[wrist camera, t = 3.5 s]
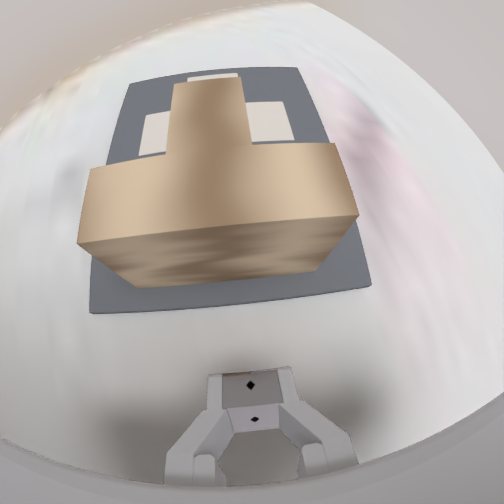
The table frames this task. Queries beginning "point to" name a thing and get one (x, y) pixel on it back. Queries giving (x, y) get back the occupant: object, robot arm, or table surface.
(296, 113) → the slate mat
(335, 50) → the table surface
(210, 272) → the maple T-block
